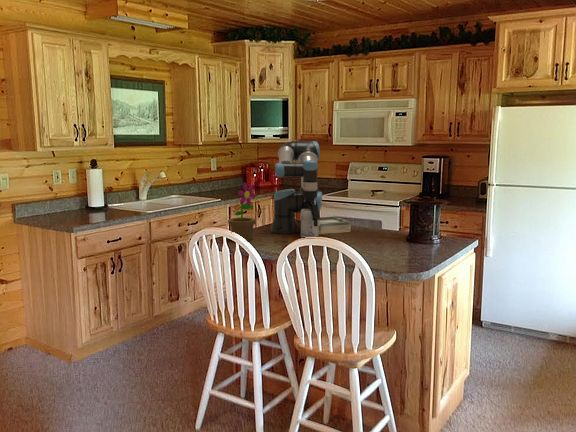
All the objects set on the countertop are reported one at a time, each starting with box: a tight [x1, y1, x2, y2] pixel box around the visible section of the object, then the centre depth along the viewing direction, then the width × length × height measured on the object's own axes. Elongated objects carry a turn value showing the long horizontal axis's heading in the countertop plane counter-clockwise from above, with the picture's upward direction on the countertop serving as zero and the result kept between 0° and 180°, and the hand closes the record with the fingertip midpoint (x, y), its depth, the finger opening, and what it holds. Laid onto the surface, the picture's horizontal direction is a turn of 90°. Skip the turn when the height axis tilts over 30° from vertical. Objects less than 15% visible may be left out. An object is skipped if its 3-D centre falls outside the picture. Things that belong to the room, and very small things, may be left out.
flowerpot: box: [227, 182, 257, 242], centre depth 280 cm, size 14×14×30 cm
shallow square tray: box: [319, 215, 352, 235], centre depth 307 cm, size 20×21×6 cm
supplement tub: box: [300, 209, 320, 238], centre depth 287 cm, size 10×10×15 cm
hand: (309, 230), depth 288 cm, fingers open, 13 cm apart
